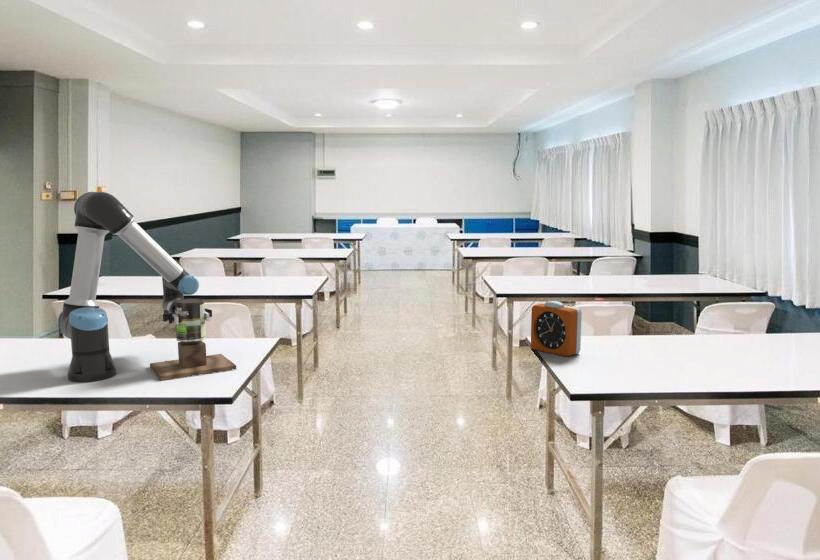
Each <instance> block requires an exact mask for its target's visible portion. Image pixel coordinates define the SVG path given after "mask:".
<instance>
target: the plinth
mask: <svg viewBox="0 0 820 560" xmlns="http://www.w3.org/2000/svg"><path fill="white" fill-rule="evenodd" d="M206 347H207V344H206V343H205V341H203V340H200V341H194V342H180V341H177V352H178V353H177V354H178V359H174V360H164V361H159V362H158V361H157V362H150V363H149V368H150V369H151V371H152V372H153V373H154V374H155V376H156V377H157V378H158V379H159V381H162V380H163V381H168V380H174V379H175V378H176V379H181V378H182V377H183V378H188V377H187V376H189V377H193V376H192V375H196V376H200V375H199V374H203V375H206V374H205V373H209V374H213V373H212V372H216V373H220V372H219V371H223V372H227V371H226V370H229V371H233V370H232V369H236V370H237V365H236V364H235V363H233V362H232V361H231V360H230V359H229V358H227V357H226V356H225V355H223V354H222V353H217V354H211V355H207V348H206Z"/></svg>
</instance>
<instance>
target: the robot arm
mask: <svg viewBox="0 0 820 560" xmlns="http://www.w3.org/2000/svg"><path fill="white" fill-rule="evenodd" d="M73 212H74V215H75V218H74V228H75V229H76V230H77V232H78V233H77V240H76V247H75V254H74V261H73V270H72V276H71V283H70V289H69V296H68V298H66V299H65V300H64V301H63V304H62V306H63V307H62V310H61V313H60V314H59V315H58V318H57V326H58V329H59V331H60V333H61V334H63V336H64V337H66V338H68V339H70V343H71V344H70V345H71V355H72V356H71V360H70V362H69V367H68V370H67V379H68V380H69V381H71V382H78V383H79V382H80V383H84V382H86V383H87V382H94V381H95V382H96V381H102V380H106V379H109V378H111V377H114V376H115V375H117V365H116V364H115V361H114V359H113V357H112V355H111V351H110V340H109V324H108V322H109V319H108V314H107V312H106V310H104V309H102V308H100V303H99V302H97V300H96V298H97V293H98V286H99V279H100V278H99V277H100V271H101V264H102V259H103V258H102V257H103V250H104V243H105V237H106V236H107V234H109V233H110V234H112V235H113V236H118V237H119V238H120V239H121V240H122V241H123V242H124V243H125V244H127V245H128V246H129V247H130V248H131V249H132V250H133V251H134V252H135V253H136V254H137V255H138V256H140V257H141V259H143V260H144V261H145V262H146V263H147V265H149V266H150V267H151V268H153V270H154V271H155V272H156V273H157V274H159V275H160V276H161V278H162V279H161V281H162V282H161V283H162V291H163V292H162V293H163V299H162V302H161V307H162V309H163V314H162V321H163V322H168V323H169V324H173V323H174V324H175V326H176V325H178V324H179V320H178V316H177V315H175V303H174V301H176V300H180V299H185V298H184V296H192V295H194V294H196V293H197V291H198V290H199V287H200V281H199V280H198V278H197V277H195V276H194V275H191V274H189V273H188V271H186V270H185V269H184V268H183V267H182V266H181V265H180V264H179V263H178V262H177V260H175V259H174V258H173V257H172V256H171V255H170V254H169V253H168V252H167V251H166V250H165V249H164V248H163V247H162V246H161V245H160V244H159V243H158V242H157V241H156V240H154V238H153V237H152V236H150V235H149V234H148V232H147V231H146V230H144V228H142V226H140V225H139V224H138V223H137V222H136V220H135V216H134V215H133V214H132V213H131V212H130V211H129V209H128V208H126V206H125V205H124V204H123V203H122V202H120V200H119V199H118V198H117V197H115V196H114V195H112V194H111V193H108V192H107V191H105V192H104V191H89V192H85V193H83V194H81V195H80V196H78V198H76V200H75V202H74V205H73ZM212 317H213V310H212V309H209V308H205V322H210V321H211V320H210V318H212Z"/></svg>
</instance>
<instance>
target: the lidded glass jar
mask: <svg viewBox="0 0 820 560" xmlns="http://www.w3.org/2000/svg"><path fill="white" fill-rule="evenodd" d="M205 301H206V300H205V299H204V298H192V297H191V298H184V299H180V300H176V301H174V303H175V315H177V316H178V320H179V324H178V325H176V324H175V334H176V335H175V336H176V339H175V340H176V341H177V342H194V341H200V340H201V341H203V340H206V338H207V337H206V335H207V333H206V320H205V309H206V308H205Z"/></svg>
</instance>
